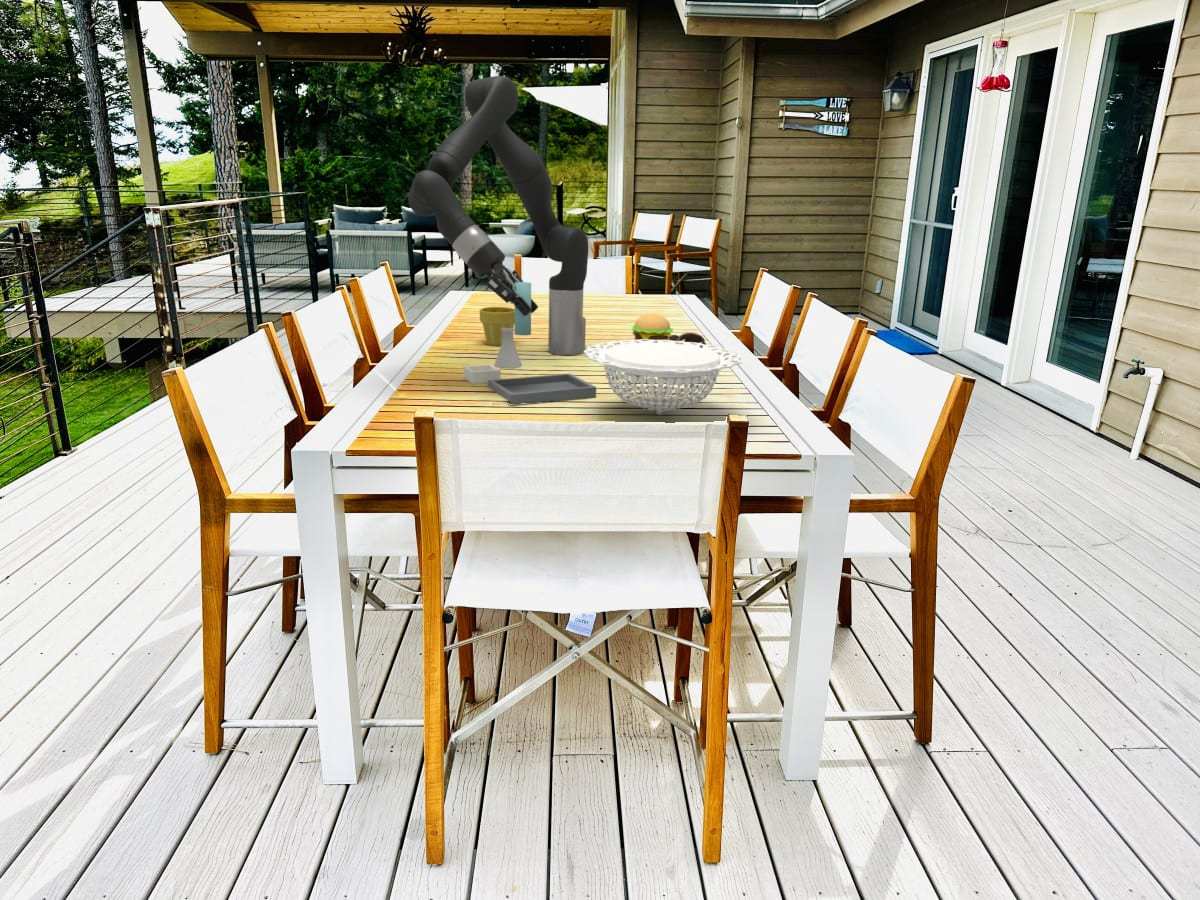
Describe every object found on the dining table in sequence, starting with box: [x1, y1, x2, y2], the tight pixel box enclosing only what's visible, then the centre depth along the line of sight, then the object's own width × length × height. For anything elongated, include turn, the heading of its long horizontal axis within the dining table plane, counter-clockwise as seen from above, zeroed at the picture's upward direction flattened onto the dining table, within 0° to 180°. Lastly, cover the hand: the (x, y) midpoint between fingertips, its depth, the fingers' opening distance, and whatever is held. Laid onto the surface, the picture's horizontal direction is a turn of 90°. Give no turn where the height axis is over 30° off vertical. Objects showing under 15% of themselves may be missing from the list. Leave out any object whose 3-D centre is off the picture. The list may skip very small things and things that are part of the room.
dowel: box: [514, 281, 532, 336], centre depth 185 cm, size 4×4×11 cm
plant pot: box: [479, 306, 515, 346], centre depth 240 cm, size 10×10×10 cm
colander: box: [583, 339, 743, 415], centre depth 173 cm, size 32×32×13 cm
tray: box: [487, 373, 597, 405], centre depth 188 cm, size 20×14×2 cm
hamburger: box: [631, 313, 674, 343], centre depth 247 cm, size 12×12×9 cm
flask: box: [493, 328, 523, 370], centre depth 210 cm, size 7×7×10 cm
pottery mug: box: [669, 332, 707, 348], centre depth 228 cm, size 12×10×8 cm
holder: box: [462, 363, 501, 385], centre depth 196 cm, size 7×7×4 cm
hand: (531, 311), depth 185 cm, fingers closed on dowel, 3 cm apart
